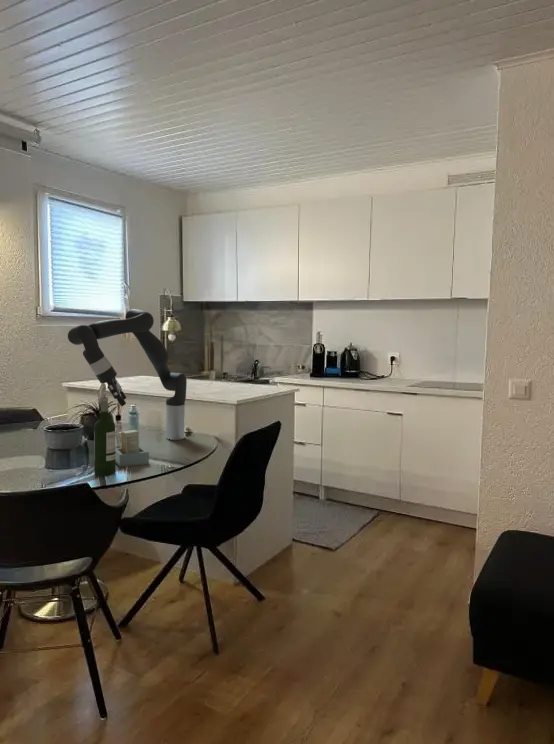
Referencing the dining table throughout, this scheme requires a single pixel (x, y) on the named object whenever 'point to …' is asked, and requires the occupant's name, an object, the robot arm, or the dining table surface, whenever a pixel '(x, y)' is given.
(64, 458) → the dining table surface
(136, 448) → the skincare box
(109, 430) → the wine bottle
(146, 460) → the ceramic holder
